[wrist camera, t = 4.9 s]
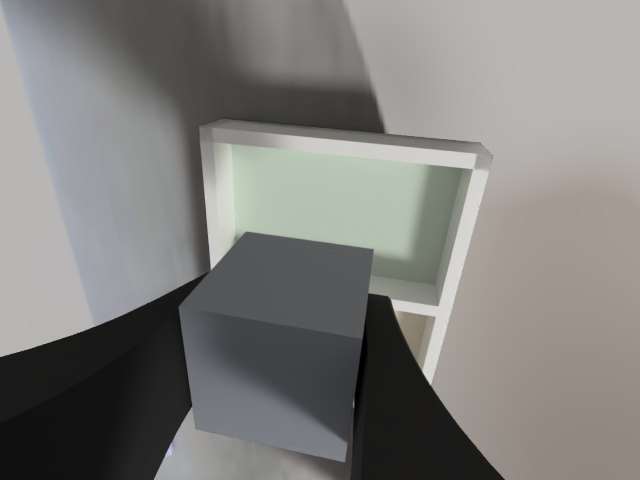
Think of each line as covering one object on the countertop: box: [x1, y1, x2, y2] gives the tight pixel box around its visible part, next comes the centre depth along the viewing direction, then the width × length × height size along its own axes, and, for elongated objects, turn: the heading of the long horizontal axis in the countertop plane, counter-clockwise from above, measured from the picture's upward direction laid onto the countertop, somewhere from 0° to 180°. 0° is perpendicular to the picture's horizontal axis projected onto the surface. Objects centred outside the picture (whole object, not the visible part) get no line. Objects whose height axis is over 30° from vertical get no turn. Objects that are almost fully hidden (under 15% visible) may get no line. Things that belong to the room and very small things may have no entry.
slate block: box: [179, 231, 374, 462], centre depth 10 cm, size 4×4×4 cm
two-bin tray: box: [199, 119, 493, 407], centre depth 19 cm, size 15×12×2 cm
